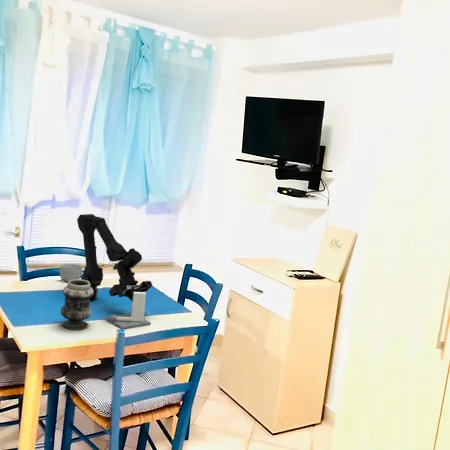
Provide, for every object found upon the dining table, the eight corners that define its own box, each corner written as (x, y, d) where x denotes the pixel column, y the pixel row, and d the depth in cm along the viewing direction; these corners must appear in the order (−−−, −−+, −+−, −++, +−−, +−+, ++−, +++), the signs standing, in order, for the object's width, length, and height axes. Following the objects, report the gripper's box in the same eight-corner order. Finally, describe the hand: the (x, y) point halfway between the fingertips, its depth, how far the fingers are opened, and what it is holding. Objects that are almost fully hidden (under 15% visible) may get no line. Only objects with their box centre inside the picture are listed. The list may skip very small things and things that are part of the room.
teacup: (61, 283, 268) (62, 268, 267) (56, 277, 277) (58, 262, 276) (89, 283, 274) (90, 268, 273) (84, 277, 284) (85, 262, 283)
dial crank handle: (110, 318, 225) (113, 290, 223) (142, 320, 228) (145, 292, 226) (111, 320, 223) (113, 292, 221) (143, 322, 226) (146, 294, 224)
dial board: (105, 319, 227) (105, 316, 227) (132, 314, 237) (133, 312, 237) (122, 329, 218) (122, 327, 218) (150, 324, 228) (150, 322, 228)
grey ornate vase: (90, 331, 212) (94, 287, 209) (58, 330, 210) (61, 285, 207) (91, 320, 224) (94, 278, 221) (60, 319, 221) (64, 276, 218)
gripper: (134, 280, 245) (146, 311, 239) (98, 284, 232) (109, 317, 226) (146, 268, 238) (159, 300, 232) (110, 272, 225) (122, 305, 219)
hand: (137, 306), depth 227 cm, fingers closed
